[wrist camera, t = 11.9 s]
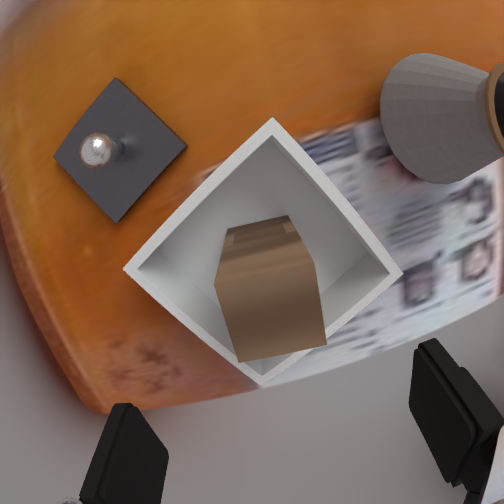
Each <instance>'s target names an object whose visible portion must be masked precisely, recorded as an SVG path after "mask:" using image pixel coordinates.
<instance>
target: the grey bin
mask: <svg viewBox="0 0 504 504" xmlns="http://www.w3.org/2000/svg"><path fill="white" fill-rule="evenodd" d="M285 215H288V216H289V218H290V220H291V221H292V223H293V225H294V227H295V228H296V230H297V232H298V234H299V235H300V237H301V239H302V241H303V243H304V244H305V246H306V248H307V250H308V252H309V253H310V255H311V257H312V259H313V261H314V264H315V269H316V275H317V281H318V288H319V294H320V300H321V307H322V313H323V320H324V327H325V334H326V339H327V338H328V337H329V336H331V335H332V334H333V333H334V332H336V331H337V330H338V329H339V328H341V327H342V326H343V325H344V324H346V323H347V322H348V321H349V320H351V319H352V318H353V317H354V316H355V315H357V314H358V313H359V312H360V311H361V310H363V309H364V308H365V307H366V306H367V305H369V304H370V303H371V302H372V301H373V300H374V299H376V298H377V297H378V296H379V295H380V294H381V293H382V292H384V291H385V290H386V289H387V288H388V287H389V286H390V285H391V284H393V283H394V282H395V281H396V280H397V279H398V278H399V277H400V276H401V275H402V274H403V273H402V271H401V270H400V268H399V267H398V266H397V264H396V263H395V262H394V260H393V259H392V257H391V256H390V255H389V253H388V252H387V251H386V249H385V248H384V247H383V245H382V244H381V243H380V241H379V240H378V239H377V237H376V236H375V235H374V234H373V232H372V231H371V230H370V228H369V227H368V226H367V225H366V223H365V222H364V221H363V219H362V218H361V217H360V216H359V214H358V213H357V212H356V211H355V209H354V208H353V207H352V206H351V205H350V203H349V202H348V201H347V200H346V198H345V197H344V196H343V195H342V194H341V192H340V191H339V190H338V189H337V188H336V186H335V185H334V184H333V183H332V182H331V181H330V179H329V178H328V177H327V176H326V175H325V174H324V172H323V171H322V170H321V169H320V168H319V167H318V166H317V165H316V163H315V162H314V161H313V160H312V159H311V158H310V157H309V156H308V154H307V153H306V152H305V151H304V150H303V149H302V148H301V147H300V146H299V145H298V144H297V142H296V141H295V140H294V139H293V138H292V137H291V136H290V135H289V134H288V133H287V132H286V131H285V130H284V129H283V128H282V126H281V125H280V124H279V123H278V122H277V121H276V120H275V119H274V118H273V117H272V118H271V119H270V120H269V121H268V122H266V123H265V124H264V125H263V126H262V127H261V128H260V129H259V130H258V131H257V132H255V133H254V134H253V135H252V136H251V137H250V138H249V139H248V140H247V141H246V142H245V143H244V144H242V145H241V146H240V147H239V148H238V149H237V150H236V151H235V152H234V153H233V154H232V155H231V156H230V157H229V158H228V159H227V160H226V161H225V162H224V163H222V164H221V165H220V166H219V167H218V168H217V169H216V170H215V171H214V172H213V173H212V174H211V175H210V176H209V177H208V178H207V179H206V180H205V181H204V182H203V183H202V184H201V185H200V186H199V187H198V188H197V189H196V190H195V191H194V192H193V193H192V194H191V195H190V196H189V197H188V198H187V199H186V200H185V201H184V202H183V204H182V205H181V206H180V207H179V208H178V209H177V210H176V211H175V212H174V213H173V214H172V215H171V216H170V217H169V218H168V219H167V220H166V221H165V222H164V223H163V225H162V226H161V227H160V228H159V229H158V230H157V231H156V232H155V233H154V234H153V235H152V236H151V238H150V239H149V240H148V241H147V242H146V243H145V244H144V245H143V246H142V247H141V249H140V250H139V251H138V252H137V253H136V254H135V255H134V256H133V258H132V259H131V260H130V261H129V262H128V263H127V264H126V266H125V267H124V268H123V270H124V271H125V272H126V273H127V274H128V275H130V276H131V277H132V278H133V279H134V280H135V281H136V282H137V283H138V284H139V285H140V286H141V287H142V288H143V289H144V290H146V291H147V292H148V293H149V294H150V295H151V296H152V297H153V298H154V299H155V300H157V301H158V302H159V303H160V304H161V305H162V306H163V307H164V308H165V309H167V310H168V311H169V312H170V313H171V314H172V315H173V316H175V317H176V318H177V319H178V320H179V321H180V322H181V323H183V324H184V325H185V326H186V327H187V328H189V329H190V330H191V331H192V332H193V333H194V334H196V335H197V336H198V337H199V338H200V339H202V340H203V341H204V342H205V343H206V344H208V345H209V346H210V347H211V348H213V349H214V350H215V351H216V352H218V353H219V354H220V355H221V356H223V357H224V358H225V359H226V360H228V361H229V362H230V363H231V364H233V365H234V366H235V367H237V368H238V369H239V370H240V371H242V372H243V373H244V374H246V375H247V376H248V377H250V378H251V379H252V380H254V381H255V382H256V383H258V384H259V385H260V386H262V385H264V384H265V383H267V382H268V381H269V380H271V379H272V378H274V377H275V376H277V375H278V374H279V373H281V372H282V371H284V370H285V369H287V368H288V367H289V366H291V365H292V364H293V363H295V362H296V361H298V360H299V359H300V358H302V357H303V356H304V355H306V354H307V353H308V352H310V351H311V350H312V349H314V348H311V349H306V350H302V351H297V352H293V353H288V354H283V355H279V356H274V357H269V358H264V359H258V360H253V361H248V362H242V363H238V360H237V357H236V354H235V350H234V347H233V344H232V341H231V338H230V335H229V332H228V329H227V326H226V323H225V319H224V316H223V313H222V310H221V307H220V304H219V300H218V297H217V294H216V291H215V287H214V280H215V276H216V272H217V268H218V264H219V260H220V256H221V252H222V248H223V244H224V241H225V237H226V233H227V229H228V228H232V227H236V226H241V225H245V224H249V223H254V222H258V221H263V220H267V219H272V218H276V217H281V216H285Z"/></svg>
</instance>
